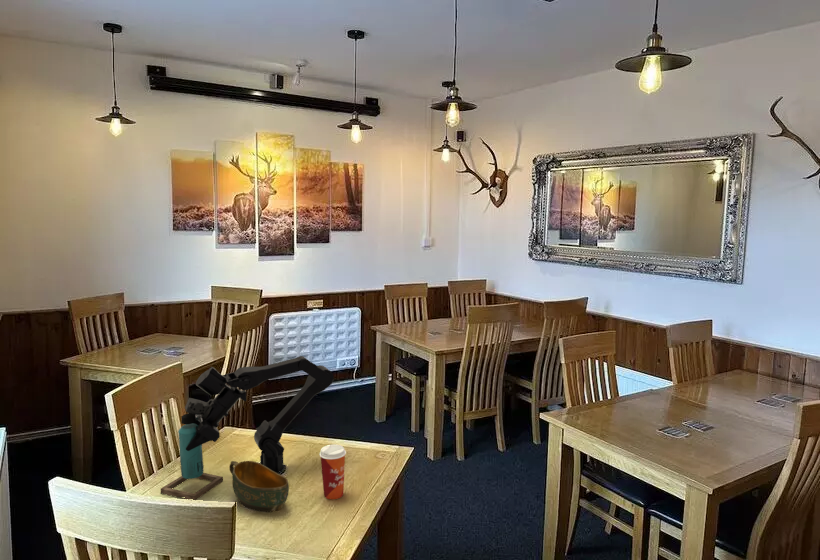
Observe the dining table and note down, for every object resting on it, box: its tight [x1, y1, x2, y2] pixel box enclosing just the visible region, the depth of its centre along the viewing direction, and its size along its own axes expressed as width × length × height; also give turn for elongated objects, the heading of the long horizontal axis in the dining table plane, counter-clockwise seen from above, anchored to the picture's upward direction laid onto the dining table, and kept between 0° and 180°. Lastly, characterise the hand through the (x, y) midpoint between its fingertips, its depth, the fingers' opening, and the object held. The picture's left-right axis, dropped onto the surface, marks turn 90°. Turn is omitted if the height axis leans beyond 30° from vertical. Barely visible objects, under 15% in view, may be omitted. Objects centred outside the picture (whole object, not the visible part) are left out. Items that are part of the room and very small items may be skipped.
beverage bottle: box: [177, 413, 205, 480], centre depth 165 cm, size 6×7×20 cm
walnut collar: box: [160, 472, 224, 501], centre depth 166 cm, size 12×12×2 cm
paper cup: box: [319, 444, 347, 501], centre depth 161 cm, size 8×8×14 cm
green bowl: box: [229, 460, 290, 513], centre depth 157 cm, size 13×20×10 cm, turn 32°
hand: (185, 445), depth 164 cm, fingers closed on beverage bottle, 6 cm apart
